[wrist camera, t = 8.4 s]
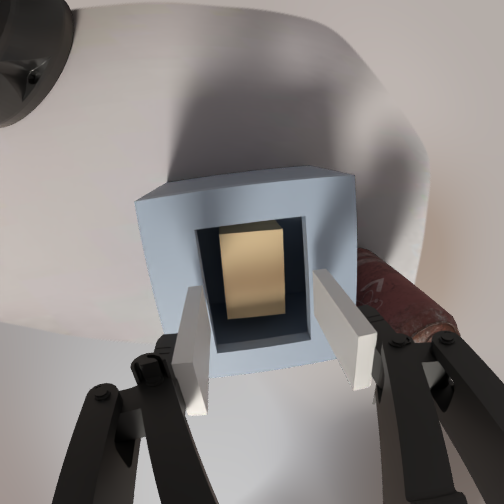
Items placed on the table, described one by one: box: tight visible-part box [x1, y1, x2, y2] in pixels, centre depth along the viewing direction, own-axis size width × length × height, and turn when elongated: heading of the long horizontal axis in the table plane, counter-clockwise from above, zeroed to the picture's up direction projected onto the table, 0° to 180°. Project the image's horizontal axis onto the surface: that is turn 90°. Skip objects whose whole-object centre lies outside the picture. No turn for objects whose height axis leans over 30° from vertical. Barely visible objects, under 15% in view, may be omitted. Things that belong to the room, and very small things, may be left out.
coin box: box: [134, 165, 357, 378], centre depth 23 cm, size 12×12×10 cm
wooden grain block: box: [219, 220, 285, 319], centre depth 23 cm, size 6×4×5 cm, turn 4°
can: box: [356, 248, 460, 343], centre depth 23 cm, size 6×6×14 cm
